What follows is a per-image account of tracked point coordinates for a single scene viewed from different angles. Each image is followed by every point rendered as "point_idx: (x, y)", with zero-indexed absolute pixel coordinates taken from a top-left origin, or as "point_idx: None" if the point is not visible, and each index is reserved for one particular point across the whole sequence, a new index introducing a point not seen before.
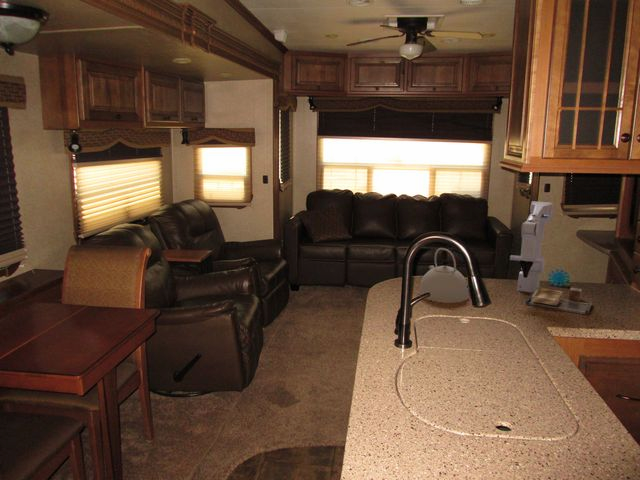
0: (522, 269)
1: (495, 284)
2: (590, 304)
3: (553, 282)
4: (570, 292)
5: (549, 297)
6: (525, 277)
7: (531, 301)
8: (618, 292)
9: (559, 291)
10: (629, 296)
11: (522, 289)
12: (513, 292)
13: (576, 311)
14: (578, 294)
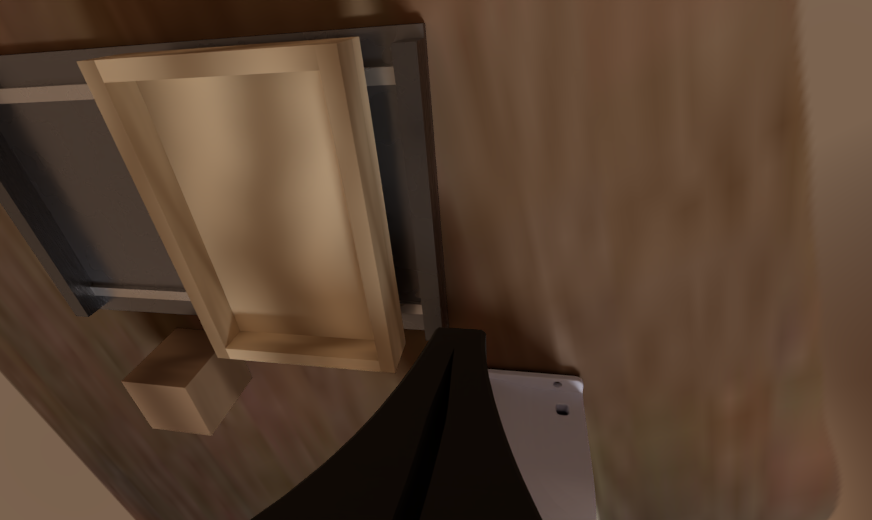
0: (498, 442)
1: (771, 445)
2: (34, 250)
3: None
4: (191, 371)
5: (260, 227)
6: (450, 328)
7: (396, 138)
8: (162, 502)
9: (236, 350)
10: (108, 475)
11: (542, 391)
12: (603, 326)
13: (25, 83)
14: (149, 363)
